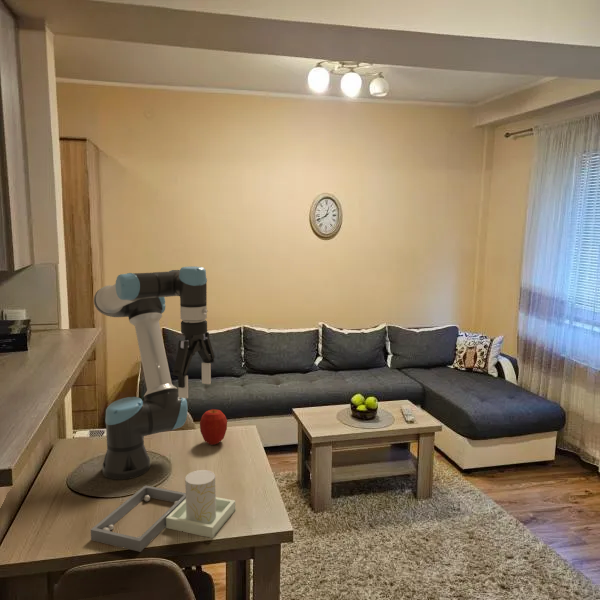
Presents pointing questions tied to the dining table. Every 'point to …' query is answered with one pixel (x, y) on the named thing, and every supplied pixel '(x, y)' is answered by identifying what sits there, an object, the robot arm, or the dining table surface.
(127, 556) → the dining table surface
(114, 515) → the gravel bin
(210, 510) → the cup
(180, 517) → the sage tray
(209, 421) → the apple
